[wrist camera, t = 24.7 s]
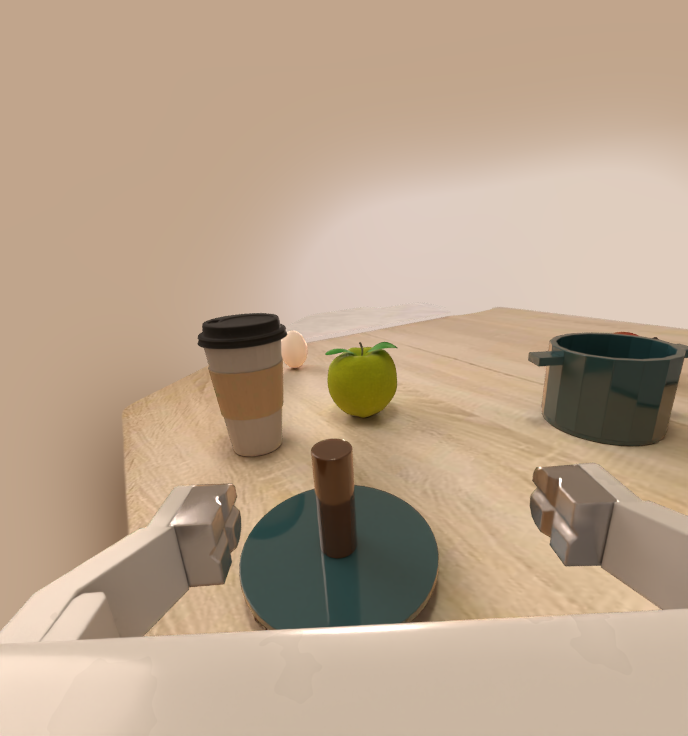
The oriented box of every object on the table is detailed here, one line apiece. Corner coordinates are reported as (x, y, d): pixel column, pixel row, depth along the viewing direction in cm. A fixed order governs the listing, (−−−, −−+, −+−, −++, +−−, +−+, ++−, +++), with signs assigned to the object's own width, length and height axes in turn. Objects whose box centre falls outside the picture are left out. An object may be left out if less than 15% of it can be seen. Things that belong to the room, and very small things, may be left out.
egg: (280, 365, 74) (276, 329, 71) (306, 362, 75) (303, 326, 73) (284, 373, 69) (279, 335, 66) (311, 369, 70) (308, 331, 68)
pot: (722, 441, 39) (748, 355, 36) (555, 450, 39) (567, 365, 36) (632, 396, 51) (646, 329, 48) (504, 403, 51) (510, 336, 48)
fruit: (400, 427, 46) (400, 350, 43) (326, 428, 46) (320, 353, 43) (395, 398, 54) (395, 332, 51) (333, 400, 55) (329, 335, 52)
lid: (471, 644, 20) (481, 510, 17) (218, 673, 19) (187, 538, 16) (410, 489, 32) (410, 399, 30) (258, 503, 32) (244, 412, 29)
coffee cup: (208, 440, 45) (185, 320, 40) (278, 418, 50) (265, 309, 45) (232, 476, 37) (207, 333, 33) (312, 446, 42) (300, 318, 38)
